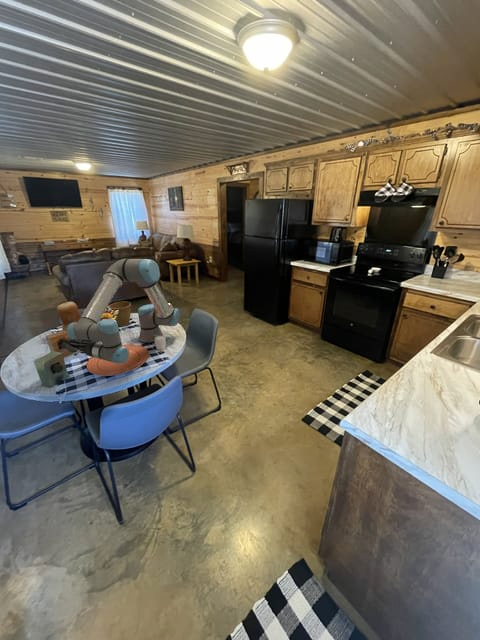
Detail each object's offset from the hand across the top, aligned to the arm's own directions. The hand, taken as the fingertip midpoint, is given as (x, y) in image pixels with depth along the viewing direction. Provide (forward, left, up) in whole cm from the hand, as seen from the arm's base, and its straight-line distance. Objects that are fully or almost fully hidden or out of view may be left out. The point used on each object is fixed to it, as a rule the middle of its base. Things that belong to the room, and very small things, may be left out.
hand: (61, 341), depth 127 cm
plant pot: (-68, -11, -22) cm, 73 cm away
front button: (+3, -4, -16) cm, 17 cm away
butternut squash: (-44, -32, -22) cm, 59 cm away
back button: (-20, -19, -16) cm, 32 cm away
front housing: (+3, -8, -22) cm, 23 cm away
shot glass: (-37, +32, -22) cm, 54 cm away
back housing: (-21, -23, -22) cm, 38 cm away
